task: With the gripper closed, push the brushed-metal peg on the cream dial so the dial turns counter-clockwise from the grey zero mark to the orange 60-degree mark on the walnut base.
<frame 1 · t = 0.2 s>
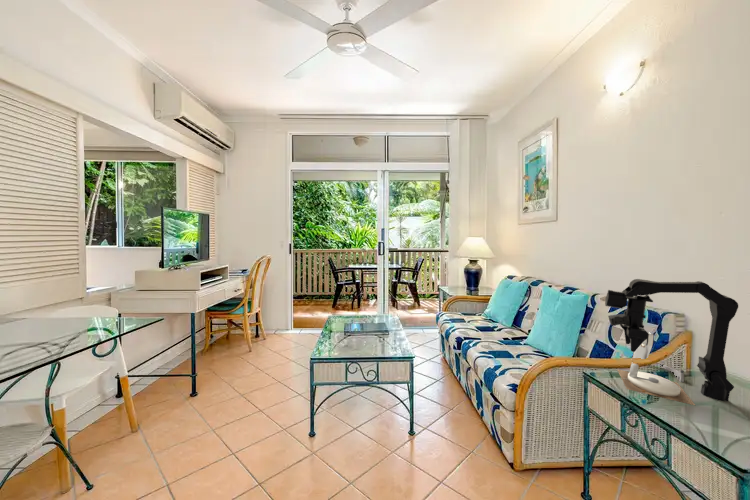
hand: (630, 347, 138), 14 cm above the table, fingers open, 9 cm apart
dial: (654, 377, 131), point 5 cm above the table, hinge at 0.0°
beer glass: (639, 364, 156), on the table
caliper: (670, 375, 146), on the table
dial base: (652, 389, 132), on the table
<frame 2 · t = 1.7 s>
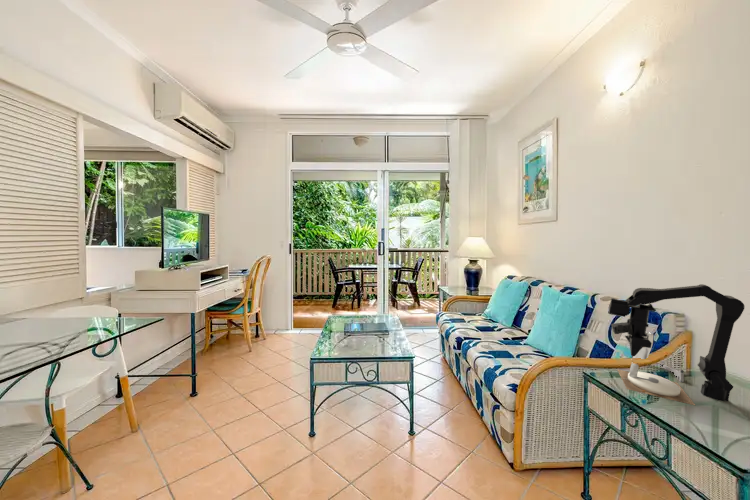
hand: (632, 355, 139), 10 cm above the table, fingers closed
nothing on the table moved.
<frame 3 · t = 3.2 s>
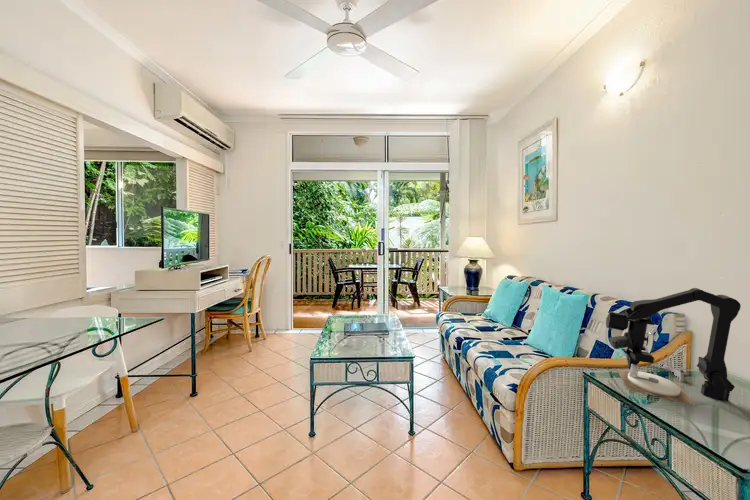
hand: (630, 369, 137), 5 cm above the table, fingers closed
dial: (654, 377, 131), point 5 cm above the table, hinge at 1.5°, touching gripper
everything else where it was.
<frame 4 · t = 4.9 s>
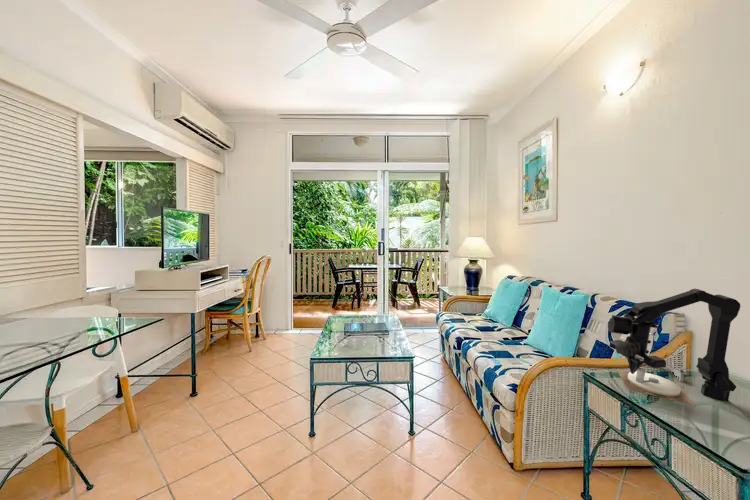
hand: (632, 373, 133), 5 cm above the table, fingers closed
dial: (654, 377, 131), point 5 cm above the table, hinge at 36.6°, touching gripper
everything else where it was.
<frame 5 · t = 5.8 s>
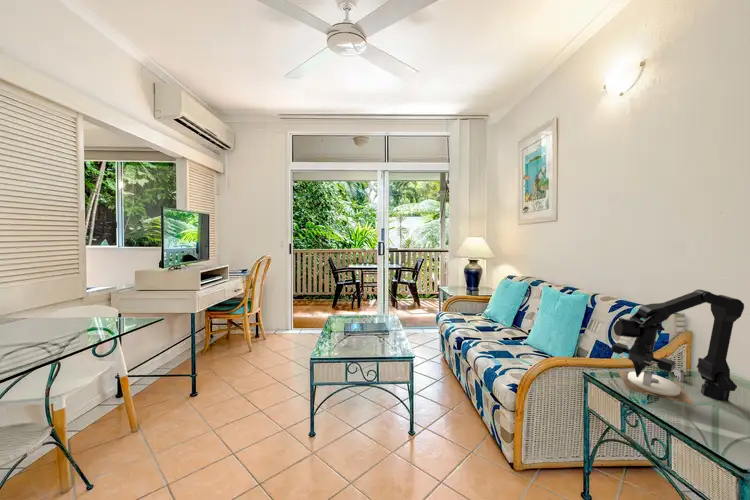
hand: (637, 376, 130), 5 cm above the table, fingers closed
dial: (654, 377, 131), point 5 cm above the table, hinge at 58.3°, touching gripper
everything else where it was.
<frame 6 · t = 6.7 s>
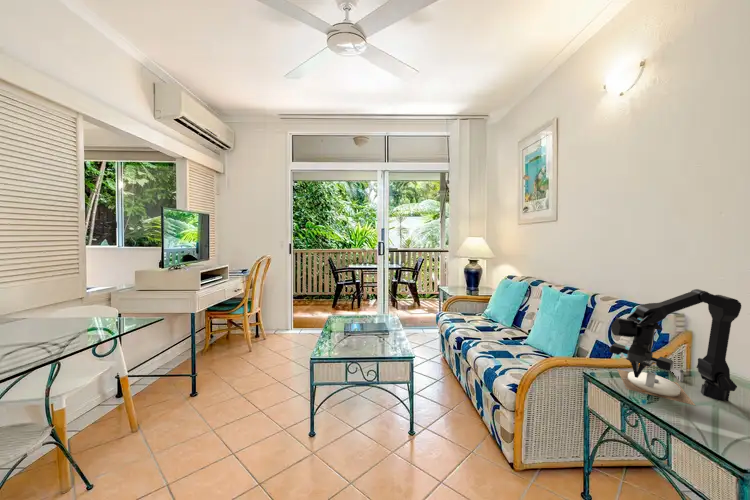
hand: (636, 377, 130), 5 cm above the table, fingers closed
dial: (654, 377, 131), point 5 cm above the table, hinge at 66.6°
everything else where it was.
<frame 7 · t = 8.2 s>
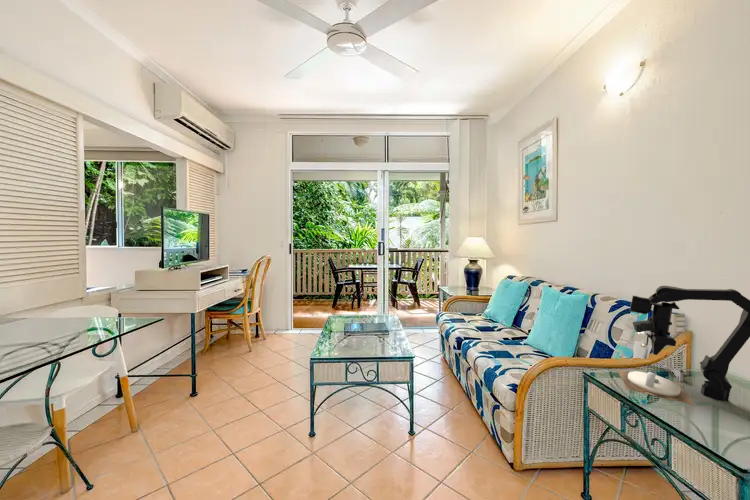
hand: (654, 354, 136), 12 cm above the table, fingers closed
nothing on the table moved.
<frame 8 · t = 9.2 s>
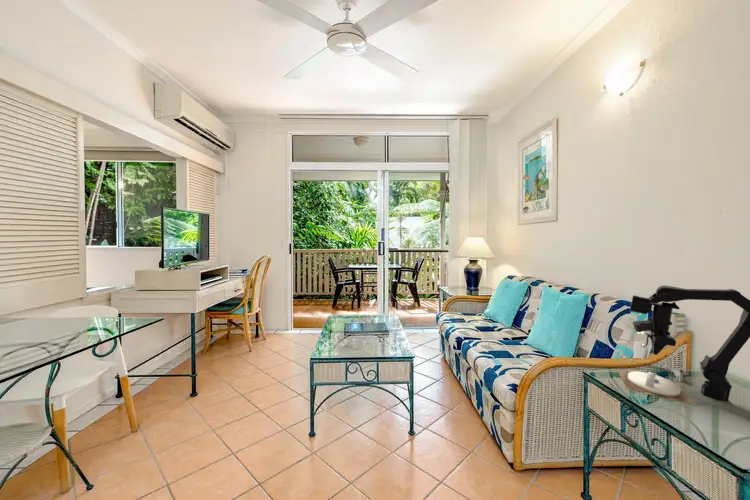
hand: (654, 354, 136), 12 cm above the table, fingers closed
nothing on the table moved.
at the end: dial at +67° (first picture: +0°); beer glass moved 0.2 cm from its start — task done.
